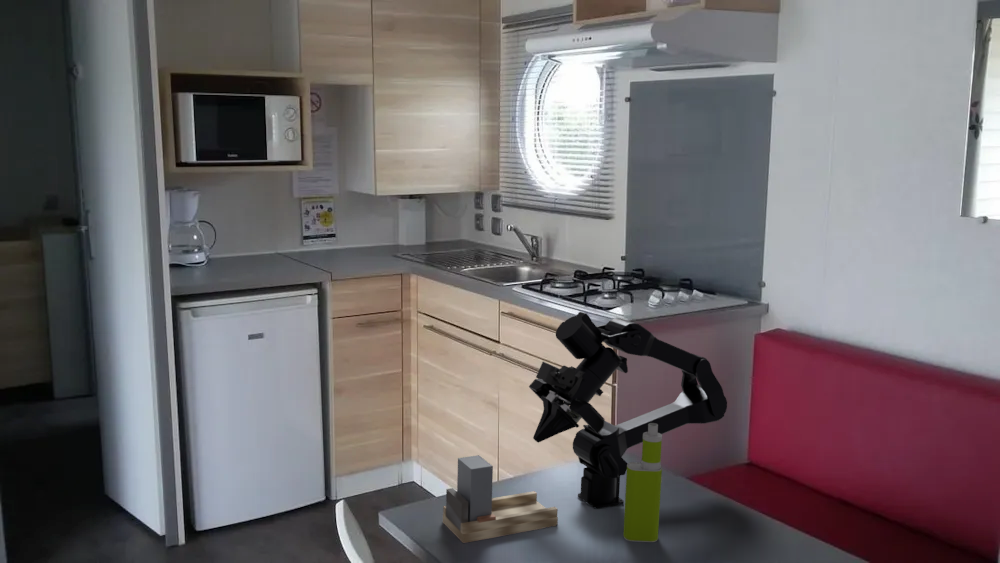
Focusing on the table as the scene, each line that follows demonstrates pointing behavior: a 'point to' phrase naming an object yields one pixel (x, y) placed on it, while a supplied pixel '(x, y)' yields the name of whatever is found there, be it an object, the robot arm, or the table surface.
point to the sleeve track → (497, 516)
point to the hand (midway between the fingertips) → (535, 440)
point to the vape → (644, 490)
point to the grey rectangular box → (475, 485)
